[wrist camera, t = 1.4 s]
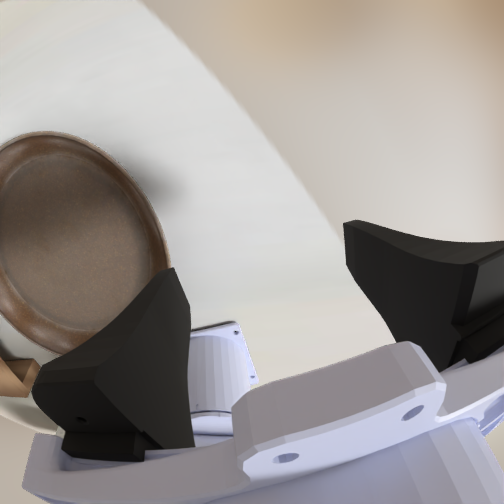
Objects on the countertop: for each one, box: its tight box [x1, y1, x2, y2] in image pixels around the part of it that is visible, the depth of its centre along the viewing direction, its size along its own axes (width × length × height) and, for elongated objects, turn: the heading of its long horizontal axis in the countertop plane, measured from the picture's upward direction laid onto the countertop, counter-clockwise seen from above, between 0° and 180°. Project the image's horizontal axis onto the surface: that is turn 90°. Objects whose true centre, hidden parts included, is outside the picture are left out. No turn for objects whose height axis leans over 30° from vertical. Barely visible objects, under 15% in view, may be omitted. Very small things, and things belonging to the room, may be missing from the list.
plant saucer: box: [0, 131, 171, 356], centre depth 20 cm, size 21×21×3 cm
